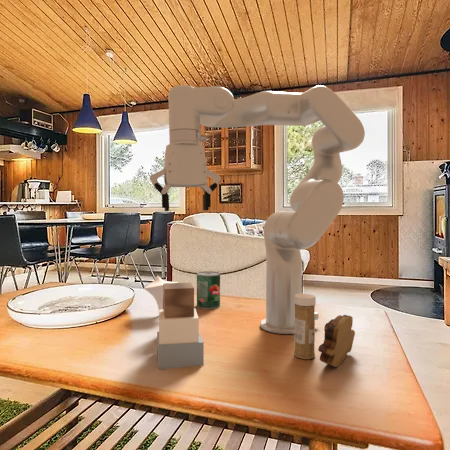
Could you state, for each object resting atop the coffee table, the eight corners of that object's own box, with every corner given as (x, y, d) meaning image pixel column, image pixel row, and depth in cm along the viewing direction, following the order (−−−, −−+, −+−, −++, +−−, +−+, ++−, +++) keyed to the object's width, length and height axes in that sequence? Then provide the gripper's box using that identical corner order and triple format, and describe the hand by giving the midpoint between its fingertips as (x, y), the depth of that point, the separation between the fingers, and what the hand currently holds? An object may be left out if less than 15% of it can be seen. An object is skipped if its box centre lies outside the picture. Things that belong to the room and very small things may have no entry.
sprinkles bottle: (318, 359, 80) (319, 296, 80) (298, 360, 79) (299, 297, 79) (309, 351, 85) (309, 292, 84) (290, 352, 84) (290, 293, 83)
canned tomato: (219, 309, 121) (220, 275, 121) (195, 309, 121) (195, 275, 121) (220, 303, 129) (220, 271, 129) (197, 303, 129) (197, 271, 129)
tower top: (195, 330, 85) (195, 308, 85) (198, 342, 77) (198, 318, 77) (159, 331, 83) (159, 309, 83) (159, 344, 76) (159, 320, 75)
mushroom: (136, 315, 113) (135, 276, 113) (163, 308, 121) (163, 271, 121) (158, 322, 106) (157, 280, 106) (185, 314, 114) (185, 275, 114)
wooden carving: (335, 348, 87) (335, 305, 86) (355, 352, 84) (356, 308, 84) (313, 375, 72) (314, 324, 72) (337, 380, 70) (338, 327, 70)
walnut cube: (190, 309, 84) (190, 282, 83) (194, 316, 78) (194, 288, 77) (163, 310, 82) (163, 283, 82) (164, 318, 76) (164, 289, 76)
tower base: (197, 350, 86) (197, 328, 86) (203, 366, 77) (203, 342, 77) (157, 353, 84) (157, 331, 84) (159, 370, 75) (159, 345, 75)
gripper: (215, 143, 97) (217, 210, 97) (147, 141, 92) (149, 211, 93) (223, 138, 89) (224, 210, 90) (150, 135, 85) (151, 211, 86)
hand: (186, 210), depth 91 cm, fingers open, 9 cm apart
